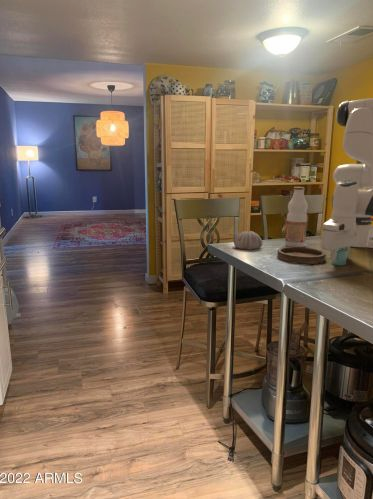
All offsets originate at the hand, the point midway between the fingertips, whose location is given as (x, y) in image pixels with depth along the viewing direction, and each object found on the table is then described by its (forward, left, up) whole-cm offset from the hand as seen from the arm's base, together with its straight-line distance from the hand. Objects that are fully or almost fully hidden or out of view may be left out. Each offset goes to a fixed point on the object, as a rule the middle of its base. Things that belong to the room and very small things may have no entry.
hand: (339, 258), depth 150 cm
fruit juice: (-15, -33, -3) cm, 36 cm away
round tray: (+4, -15, -2) cm, 16 cm away
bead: (0, 0, -2) cm, 2 cm away
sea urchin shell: (+8, -42, -3) cm, 43 cm away
